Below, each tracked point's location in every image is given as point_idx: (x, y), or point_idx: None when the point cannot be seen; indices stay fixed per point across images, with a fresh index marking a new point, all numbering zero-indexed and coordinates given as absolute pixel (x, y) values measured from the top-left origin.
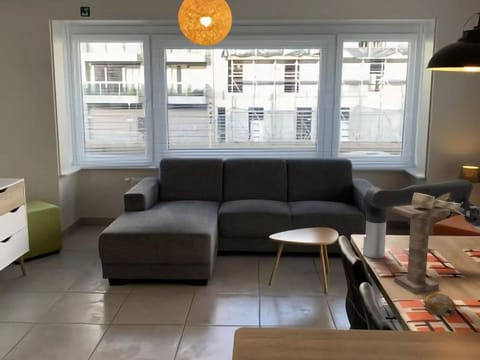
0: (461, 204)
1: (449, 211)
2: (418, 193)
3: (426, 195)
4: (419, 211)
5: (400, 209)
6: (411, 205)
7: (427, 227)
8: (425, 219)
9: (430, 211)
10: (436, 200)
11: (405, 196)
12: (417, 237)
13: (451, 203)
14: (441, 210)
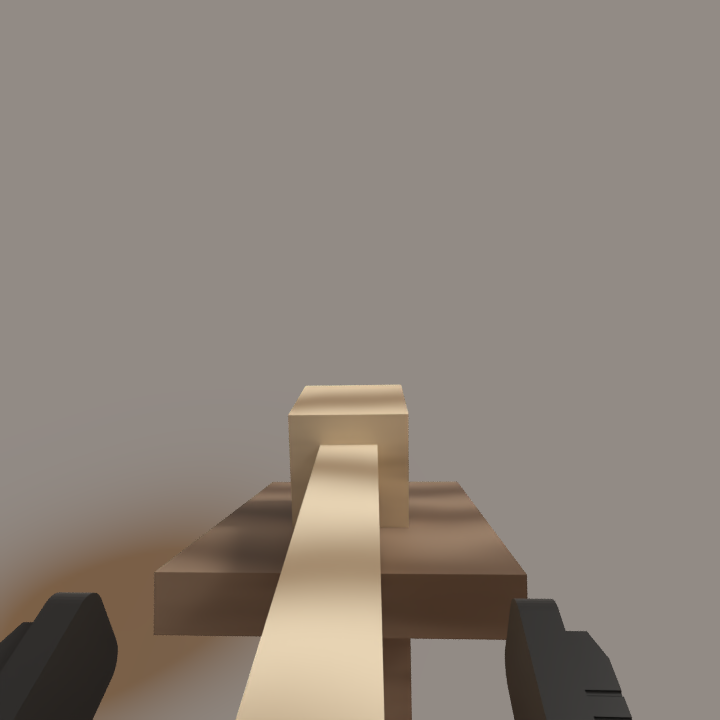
0: (92, 621)
1: (159, 584)
2: (360, 386)
3: (301, 394)
4: (290, 497)
5: None
6: (471, 512)
7: None
8: None
9: (247, 512)
10: (313, 467)
11: None
12: None
13: (276, 595)
14: (210, 540)
